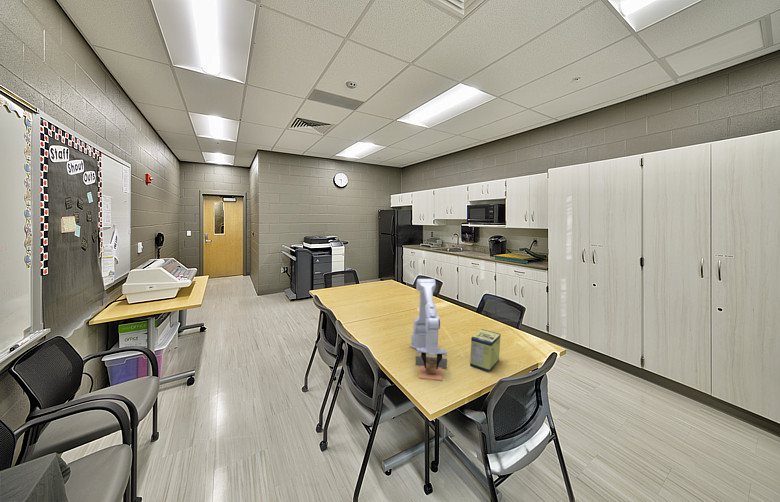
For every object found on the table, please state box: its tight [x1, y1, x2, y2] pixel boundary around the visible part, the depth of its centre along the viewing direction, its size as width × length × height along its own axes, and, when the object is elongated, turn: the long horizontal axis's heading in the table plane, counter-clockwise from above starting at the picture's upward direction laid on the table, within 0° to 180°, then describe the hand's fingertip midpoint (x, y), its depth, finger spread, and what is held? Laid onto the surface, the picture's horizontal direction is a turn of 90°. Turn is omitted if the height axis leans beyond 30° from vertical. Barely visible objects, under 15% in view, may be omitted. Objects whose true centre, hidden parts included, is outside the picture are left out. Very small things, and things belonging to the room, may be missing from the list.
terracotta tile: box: [418, 366, 443, 382], centre depth 139 cm, size 11×11×1 cm
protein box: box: [469, 328, 501, 373], centre depth 149 cm, size 10×16×16 cm
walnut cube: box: [426, 358, 437, 374], centre depth 139 cm, size 5×5×5 cm
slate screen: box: [415, 354, 448, 369], centre depth 146 cm, size 16×1×5 cm, turn 81°
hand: (431, 367), depth 139 cm, fingers closed on walnut cube, 5 cm apart
